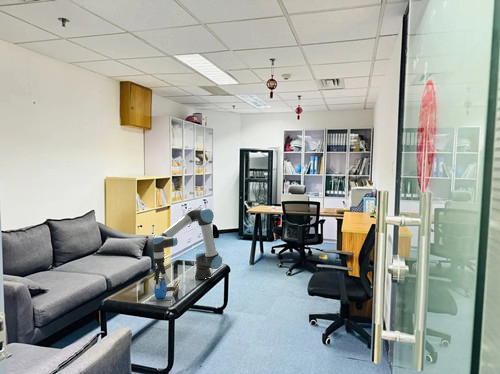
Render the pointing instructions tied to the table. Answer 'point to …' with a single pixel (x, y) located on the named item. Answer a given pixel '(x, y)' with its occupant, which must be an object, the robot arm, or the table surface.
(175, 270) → the table surface
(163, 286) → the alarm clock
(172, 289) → the clock stand
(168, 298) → the rubber mat
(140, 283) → the table surface
